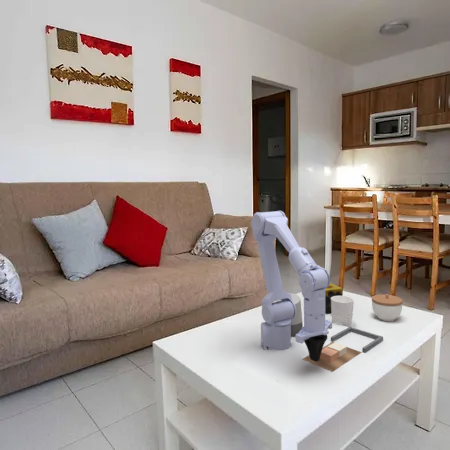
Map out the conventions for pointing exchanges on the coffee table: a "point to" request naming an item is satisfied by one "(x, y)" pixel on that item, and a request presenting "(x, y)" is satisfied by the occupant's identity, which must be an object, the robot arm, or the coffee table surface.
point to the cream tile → (338, 348)
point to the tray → (377, 339)
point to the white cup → (342, 310)
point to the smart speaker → (297, 320)
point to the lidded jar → (387, 307)
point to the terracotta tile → (329, 354)
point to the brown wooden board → (336, 363)
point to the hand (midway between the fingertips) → (314, 359)
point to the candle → (330, 292)
